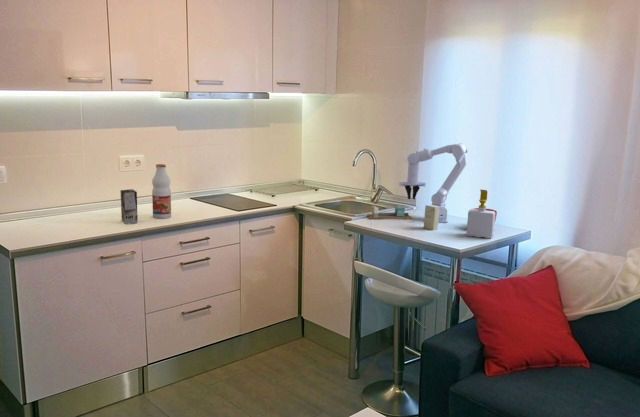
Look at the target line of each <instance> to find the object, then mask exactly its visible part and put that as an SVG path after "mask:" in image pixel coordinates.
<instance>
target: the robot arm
mask: <svg viewBox="0 0 640 417" xmlns="http://www.w3.org/2000/svg"><path fill="white" fill-rule="evenodd" d="M468 152H469V150H468V148H467V145H466V144H465V143H463V142H459V143H453V144H447V145H444V146H441V147H439V148H436V149H430V148H423V150H421V151H419V150H417V151H415V152H413V153H411V154H409V155H408V156H407V159H406V160H407V162H408V164H407V165H408V166H407V181H404V182H402V181H401V182H400V181H399V184H398V186H399V187H404V189H405V191H406V194H407V199H408V200H411V199H412V200H415V199H416V197H417V194H418V192H419V190H420V187H426V182H420V181H419V166H420V164H419V163H421V162H424V161H425V162H426V161H429V160H432V159H433V157H434V156H437V155H441V154H445V153H446V154H452V155H453V156H454V159H455V163H456V164H455V165H454V167H453V168H452V170H451V171H450V172H449V174H448V176H447V177H446V179H445V180H444V182H443V183H442V185H441V187H440V188H439V189H438V190H437V191H436V192H435V193H434V194H432V196H431V205H435V206H440V209H439V219H438V223H448V222H449V221H448V220H447V216H448V210H447V208H446V200H447V197H448V194H449V193H450V190H451V189H452V188H453V186H454V184H455V182H456V181H457V180H458V178H459V177H460V175H461V174H462V173H463V171H464V169H465V168H466V166H467V165H468ZM411 194H412V196H411ZM411 197H412V198H411Z"/></svg>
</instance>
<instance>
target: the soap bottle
mask: <svg viewBox="0 0 640 417" xmlns="http://www.w3.org/2000/svg"><path fill="white" fill-rule="evenodd" d="M479 196H480V197H479V200H478V201H479V203H480V204H479V205H478V208H479V209H478V210H477V209H474V208H471V209H469V210H468V211H467V222H466V233H465V234H466V237H472V236H476V237H475V238H480V237H485V238H484V239H488V238H491V239H492V238H493V237H494V231H495V223H496V220H495V212H494V211H487V210H486V209H487V206H486V205H485V204H486V202H487V200H488V190H487V189H480V195H479Z"/></svg>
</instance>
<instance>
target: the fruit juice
mask: <svg viewBox="0 0 640 417" xmlns="http://www.w3.org/2000/svg"><path fill="white" fill-rule="evenodd" d="M155 168H156V171H155V173H154V176H153V178H152V179H151V180H152V181H151V183H152V184H151V185H152V187H153V188H152V191H151V194H152V195H151V196H152V199H151V200H152V202H151V203H152V217H153V219H158V220H159V219H160V220H162V219H163V220H164V219H170V218H171V217H172V191H171V188H170V186H171V179H170V177H169V176H168V174H167V171H166V168H167V166H166V164H164V163H163V164H162V163H161V164H160V163H159V164H155Z"/></svg>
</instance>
